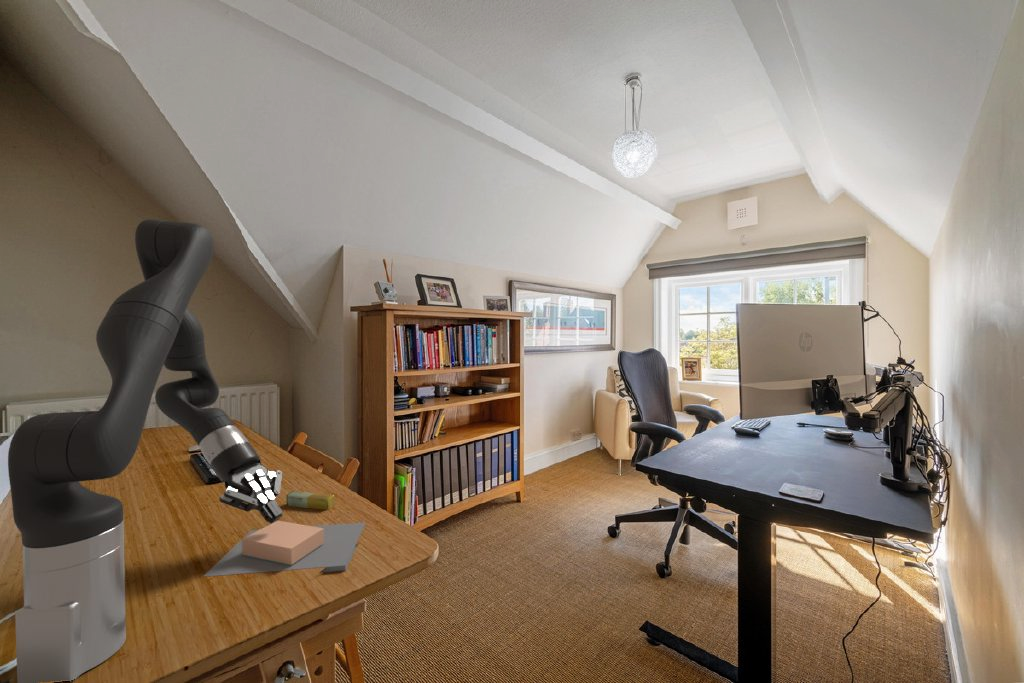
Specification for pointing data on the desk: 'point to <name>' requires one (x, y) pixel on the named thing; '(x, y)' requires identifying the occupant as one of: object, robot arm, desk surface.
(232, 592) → the desk surface
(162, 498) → the desk surface
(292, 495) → the medication box
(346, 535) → the slate mat
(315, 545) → the salmon pink box
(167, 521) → the desk surface
